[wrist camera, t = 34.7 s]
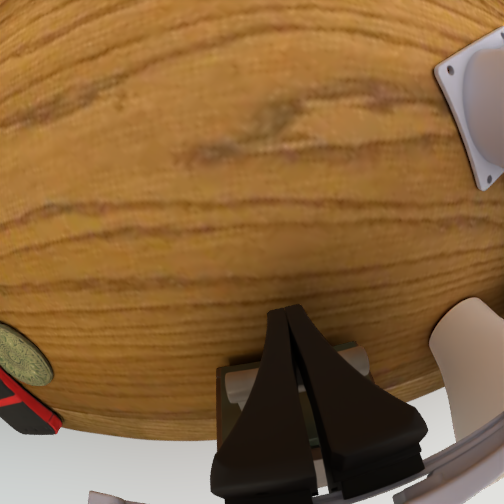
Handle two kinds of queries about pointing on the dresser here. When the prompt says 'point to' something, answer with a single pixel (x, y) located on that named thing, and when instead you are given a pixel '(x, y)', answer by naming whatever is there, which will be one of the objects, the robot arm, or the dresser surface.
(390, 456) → the robot arm
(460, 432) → the cup
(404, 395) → the dresser surface
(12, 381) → the game console
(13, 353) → the medallion
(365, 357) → the drawer
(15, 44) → the dresser surface
